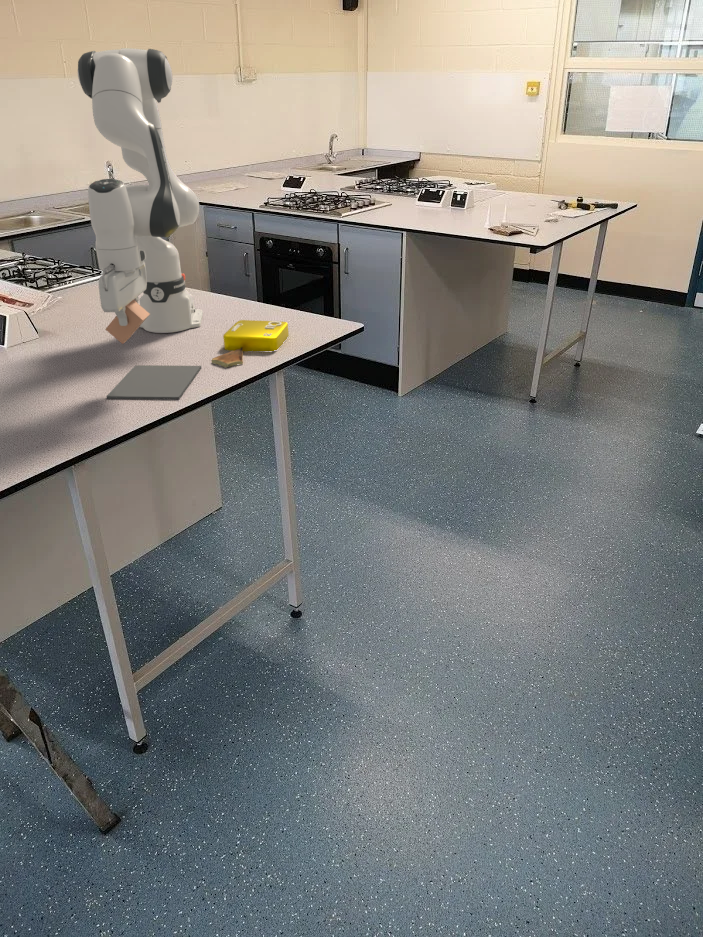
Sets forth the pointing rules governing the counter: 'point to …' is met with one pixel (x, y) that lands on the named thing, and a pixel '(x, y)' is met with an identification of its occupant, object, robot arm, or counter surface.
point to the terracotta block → (135, 320)
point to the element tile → (256, 335)
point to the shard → (229, 358)
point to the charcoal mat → (155, 382)
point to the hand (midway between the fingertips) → (129, 320)
